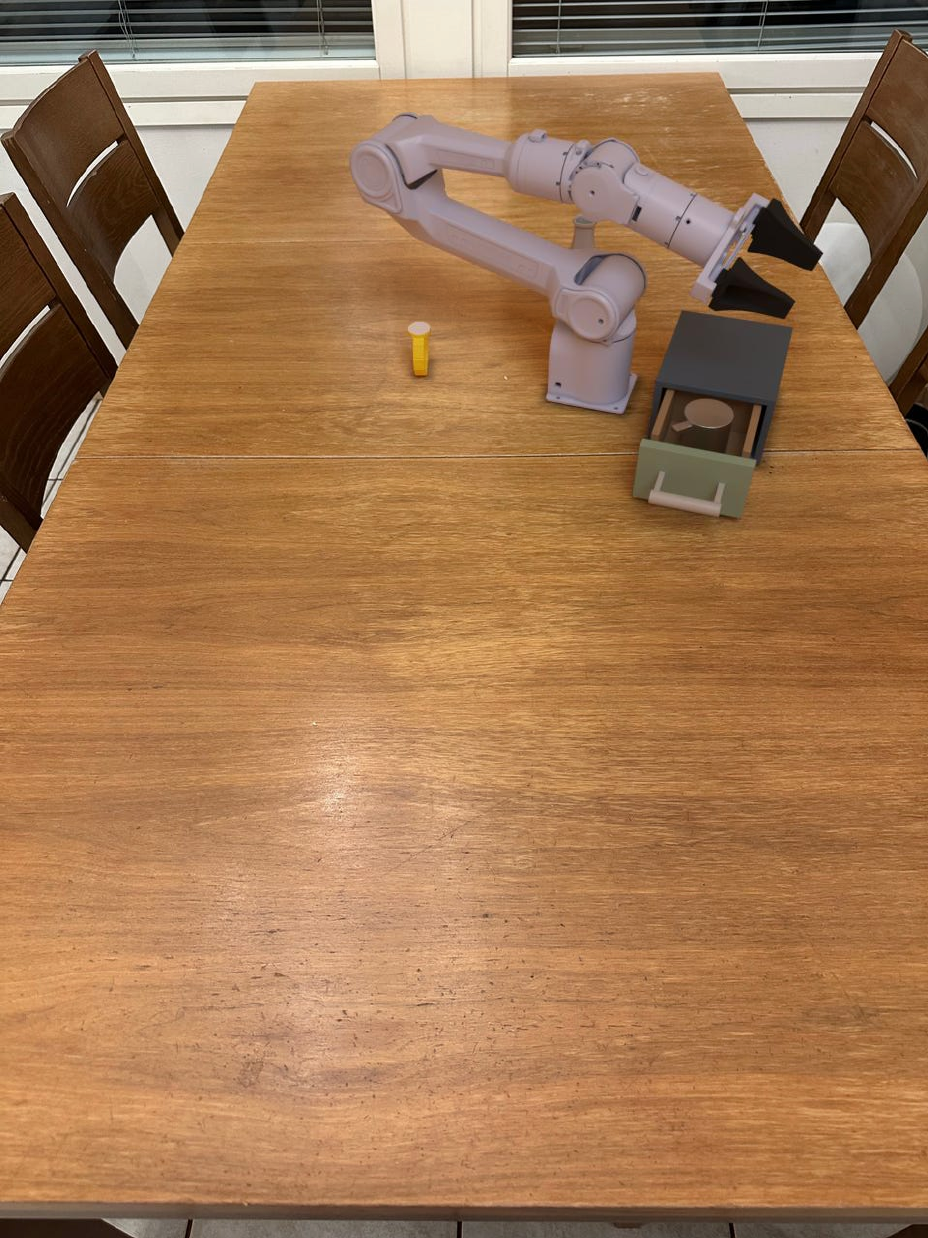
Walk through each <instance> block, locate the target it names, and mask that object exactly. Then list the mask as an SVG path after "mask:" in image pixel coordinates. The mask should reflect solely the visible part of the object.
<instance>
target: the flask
mask: <svg viewBox="0 0 928 1238" xmlns="http://www.w3.org/2000/svg"><path fill="white" fill-rule="evenodd" d="M572 223H573V225H574V227H573V229H574V230H573V236H572V241H571V245H570V247H569V249H579V248H588V247H595V248H596V239H595V231H596V230H595V229H596V225H597V224H598V222H591V221H588V220H585V219H583V213H577V214H575V216H573V217H572Z"/></svg>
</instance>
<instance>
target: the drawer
mask: <svg viewBox="0 0 928 1238" xmlns="http://www.w3.org/2000/svg"><path fill="white" fill-rule="evenodd" d="M698 399H715V400H718V401H721V402H723V403H725V404H727V405H728V406H729V407H730V408H731V409H732V411H733V414H734V417H733V422H732V426H731V430H730V435H729V439H728V444H727V448H726V452H725V454H722V453H716V452H711V451H706V450H700V449H695V448H690V447H685V446H679V445H678V444H679V438H680V434H679V435H675V434H674V433H673V432H672V431H671V427H672V426H673V425H676V424H679V423H682V421H683V416H684V410H685V407H686V406H687V405H688V404H689V403H690V402H692V401H694V400H698ZM761 408H762V405H761V404H755V403H749V402H744V401H738V400H732V399H726V398H721V397H715V396H709V395H704V394H698V393H692V392H686V391H681V390H675V389H669V388H667V391H666V394H665V397H664V400H663V402H662V405H661V408H660V411H659V414H658V416H657V419H656V422H655V425H654V428H653V431H652V433H651V440H648V439H647V438H641V440H640V443H639V447H638V454H637V460H636V468H635V475H634V483H633V490H632V497H633V498H638V499H644V500H647V502H648V504H650V505H656V506H660V507H665V508H670V509H675V510H680V511H684V512H690V513H695V514H698V515H699V514H700V515H704V516H709V517H714V518H719V517H720V515H721V516H726V517H731V518H736V519H740V520H742V518H743V515H744V512H745V506H746V502H747V499H748V495H749V491H750V489H751V484H752V481H753V477H754V472H755V468H756V466H757V465H756V460H753V459H749V458H750V454H751V450H752V445H753V441H754V437H755V433H756V429H757V425H758V420H759V416H760V412H761Z"/></svg>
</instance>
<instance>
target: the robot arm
mask: <svg viewBox="0 0 928 1238" xmlns="http://www.w3.org/2000/svg"><path fill="white" fill-rule="evenodd" d="M547 133H548V132H547V130H546V129H541V128H535V129H534V130H533V131H532V132H526V133H523V134H521V135H520V136H519V137H518V138H517V139H516V140H515V141H514V142H512V141H508V140H505V139H501V138H498V137H494V136H490V135H486V134H483V133H479V132H476V131H471V130H468V129H465V128H461V127H458V126H453V125H451V124H447V123H443V122H440V121H439V120H438V119H437V118H435V116H433V115H432V114H421V115H419V114H418V113H416V112H411V111H404V112H401V113H399V114H397V115H396V116H395V117H394V118H392V119H391V121H390V122H389V123H388V124H386V125H385V126H383V127H382V128H380V129H379V130H378V131H376V132H375V133H374V134H373V135H371V136H369V137H368V138H367V139H365V140H361V141H360V142H358V143H356V145H354V147H353V148H352V149H351V151H350V154H349V159H348V161H349V162H348V166H349V172H350V176H351V178H352V180H353V183H354V185H355V187H356V189H357V191H358V193H359V195H360V196H361V199H362V201H363V202H364V203H365V204H368V205H370V206H373V207H375V208H377V209H379V210H381V211H384V212H386V214H388V215H389V216H390V217H391V218H392V220H394V221H395V222H396V223H397V224H398V225H400V226H401V227H402V228H403V229H404V230H405V231H406V232H407V233H409V235H410V236H412V237H413V238H415V239H417V240H419V241H420V242H423V243H425V244H427V245H430V246H432V247H435V248H436V249H439V250H441V251H443V252H445V253H448V254H450V255H453V256H454V257H457V258H459V259H461V260H463V261H466V262H468V263H471V264H472V265H475V266H477V267H479V268H482V269H484V270H486V271H487V272H491V273H492V274H495V275H497V276H500V277H502V278H504V279H506V280H509V281H510V282H513V283H515V284H517V285H519V286H522V287H524V288H527V289H528V290H531V291H533V292H534V293H538V294H540V295H542V296H544V297H546V298H547V299H548V303H549V308H550V312H551V315H552V317H553V318H555V319H556V321H555V323H554V326H553V329H552V333H551V338H550V344H549V352H548V353H549V354H548V374H547V376H548V377H547V393H546V395H545V400H546V401H547V402H551V403H557V404H562V405H568V406H573V407H579V408H583V409H589V410H595V411H600V412H605V413H610V414H611V413H612V414H616V415H624V413H625V411H626V408H627V406H628V403H629V401H630V399H631V396H632V393H633V391H634V388H635V386H636V383H637V381H638V374H636V373H634V372H633V373H632V363H633V355H634V354H633V353H634V347H635V339H636V331H637V316H636V310H635V309H636V304H637V302H639V301H640V299H642V297H643V296H644V295H645V294H646V292H647V289H648V283H649V278H648V277H649V276H648V273H647V270H646V268H645V265H644V264H643V263H642V261H641V260H640V259H639V258H637V257H636V256H635V255H633V254H631V253H629V252H626V251H622V250H621V251H620V250H614V251H606V250H603V249H599V248H598V247H596V246H595V247H588V248H579V249H570V248H566V247H564V246H561V245H559V244H557V243H555V242H553V241H550V240H548V239H546V238H543V237H541V236H539V235H536V234H534V233H532V232H529V231H527V230H525V229H523V228H520V227H519V226H515V225H513V224H511V223H509V222H506V221H504V220H501V219H500V218H497V217H495V216H493V215H490V214H488V213H486V212H483V211H480V210H479V209H476V208H474V207H472V206H470V205H467V204H465V203H462V202H460V201H458V200H455V199H453V198H451V197H449V196H448V194H447V192H446V182H445V175H444V172H443V170H449V171H457V172H463V173H469V174H470V173H471V174H477V175H484V176H491V177H498V178H504V179H506V181H507V183H508V185H509V186H510V188H511V189H512V190H513V192H515V193H518V194H520V195H522V194H523V195H526V196H530V197H534V198H539V199H545V200H547V201H553V202H558V203H563V204H566V205H574V206H575V207H576V208H577V209H578V210H579V211H580V212H581V213H582V214H583V219H585V220H588V221H591V222H597V223H602V222H605V221H609V222H613V223H615V224H617V225H619V226H624V227H626V228H628V229H630V230H631V231H633V232H635V233H637V234H638V235H641V236H642V237H644V238H647V239H648V240H650V241H651V242H654V243H655V244H657V245H658V246H659V245H660V246H661V247H663V248H665V249H667V250H668V251H670V252H672V253H674V254H676V255H677V256H680V257H682V258H683V259H685V260H688V261H689V262H691V263H693V264H694V265H696V266H698V267H700V268H703V269H702V270H701V272H700V274H699V275H698V277H697V278H696V279H695V282H694V284H693V286H692V288H691V290H690V292H689V294H688V295H689V296H690V297H691V298H693V299H695V300H697V301H699V302H701V303H703V304H705V305H707V304H708V302H709V301H710V302H709V304H708V306H707V308H708V309H710V310H712V311H714V312H723V311H725V312H726V311H727V312H728V311H738V312H748V313H754V314H759V315H763V316H768V317H771V318H772V317H773V318H776V319H781V320H785V319H786V318H787V316H788V315H789V313H790V311H791V310H792V308H793V307H794V305H795V304H796V300H795V299H794V298H793V297H791V296H790V295H789V294H788V293H786V292H784V291H783V290H782V289H779V288H778V287H776V286H774V285H773V284H771V283H769V282H768V281H767V280H765V279H764V278H763V277H762V276H760V275H759V274H758V273H757V272H756V271H755V270H753V269H752V268H751V267H750V266H749V264H747V262H746V261H745V260H744V259H743V257H742V256H738V257H737V255H738V254H739V252H741V251H740V250H741V249H742V248H743V246H744V244H745V243H746V241H747V240H748V238H749V237H750V239H752V240H751V242H750V243H749V245H748V247H747V248H746V249H747V250H746V251H747V253H749V254H750V253H751V254H759V255H762V256H763V255H764V256H768V257H772V258H775V259H779V260H781V261H784V262H785V263H788V264H791V265H792V266H795V267H796V268H800V269H802V270H805V271H809V272H813V271H814V270H815V268H816V266H817V265H818V263H819V262H820V260H821V258H822V257H823V255H824V252H823V251H822V250H821V249H820V248H819V247H818V246H817V245H816V244H814V242H813V241H812V240H811V239H809V238H808V237H807V236H806V235H805V234H804V233H803V232H802V231H801V230H800V228H799V227H798V226H797V225H796V224H795V223H794V221H793V220H792V218H791V217H790V216H789V214H788V212H787V211H786V209H785V206H784V205H783V203H782V201H781V200H779V199H777V198H775V197H773V198H771V200H769V199H768V198H766V197H763V196H762V195H759V194H758V193H756V192H753V193H752V194H751V196H750V197H749V198H748V199H747V201H746V202H745V203H744V205H743V206H740V207H739V208H738V210H737V211H736V212H733V211H732V210H730V209H727V208H726V207H724V206H722V205H720V204H719V203H716V202H714V201H712V200H711V199H709V198H707V197H705V196H703V195H701V194H699V193H698V192H696V191H693V190H692V189H690V188H688V187H686V186H684V185H682V184H681V183H678V182H677V181H675V180H673V179H671V178H670V177H667V176H665V175H663V174H662V173H660V172H657V171H655V170H653V169H652V168H650V167H648V166H646V165H644V164H642V163H641V160H640V158H639V155H638V154H637V152H636V150H635V149H634V148H633V147H631V146H630V144H628V143H626V142H624V141H622V140H619V139H617V138H615V137H608V138H605V139H602V140H601V141H599V142H598V143H596V144H595V145H591V143H590V142H591V141H590V140H586V139H580V140H578V142H577V141H570V140H566V139H561V138H556V137H549V136H547V135H548V134H547ZM734 243H735V244H736V246H735V247H734V249H733V250H732V252H731V253H730V255H729V251H730V249H731V248H732V246H733V245H734ZM736 257H737V258H736ZM735 258H736V260H735ZM734 260H735V261H734ZM733 262H734V263H733ZM732 263H733V264H732ZM731 265H732V266H731Z"/></svg>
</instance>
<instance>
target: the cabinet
mask: <svg viewBox="0 0 928 1238" xmlns="http://www.w3.org/2000/svg"><path fill="white" fill-rule="evenodd" d="M793 330H794V327H793V326H787V325H781V324H775V323H769V322H761V321H755V320H748V319H743V318H735V317H729V316H723V315H716V314H709V313H705V312H704V313H703V312H697V311H692V310H691V311H690V310H684V309H682V310H681V311H680V313H679V317H678V320H677V322H676V325H675V327H674V330H673V333H672V335H671V338H670V341H669V344H668V346H667V349H666V352H665V354H664V357H663V360H662V362H661V365H660V368H659V370H658V373H657V375H656V379H655V383H654V385H655V386H654V390H653V396H652V403H651V411H650V417H649V424H648V431H647V436H646V439H648V440H651V433H652V431H653V428H654V425H655V422H656V419H657V416H658V414H659V411H660V408H661V405H662V402H663V400H664V397H665V394H666V391H667V388H669V389H675V390H681V391H686V392H692V393H698V394H704V395H709V396H715V397H721V398H726V399H732V400H738V401H744V402H749V403H755V404H761V405H762V408H761V412H760V416H759V420H758V425H757V429H756V433H755V437H754V441H753V445H752V450H751V454H750V458H749V459H753V460H756V465H755V466H759V467H760V465H761V461H762V457H763V454H764V451H765V447H766V443H767V439H768V435H769V431H770V428H771V424H772V420H773V417H774V412H775V409H776V405H777V401H778V397H779V392H780V387H781V383H782V379H783V374H784V370H785V366H786V361H787V357H788V352H789V348H790V343H791V339H792V334H793Z"/></svg>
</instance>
